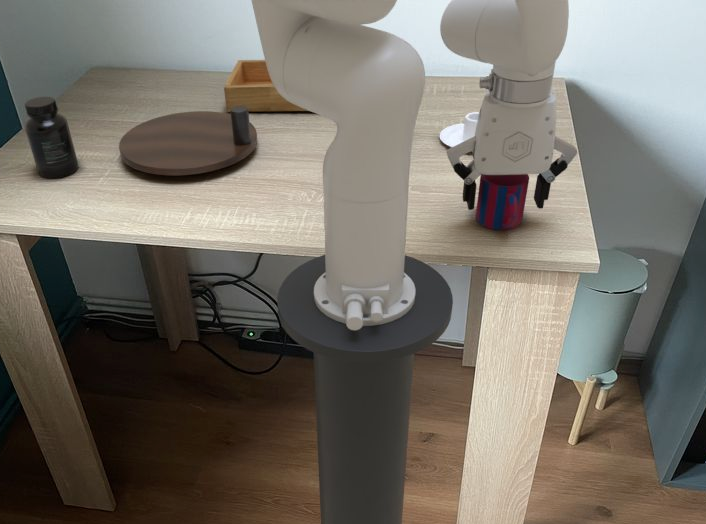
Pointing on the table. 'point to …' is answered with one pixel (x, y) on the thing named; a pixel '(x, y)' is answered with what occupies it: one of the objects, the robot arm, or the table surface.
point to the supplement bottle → (49, 138)
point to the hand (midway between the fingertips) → (503, 204)
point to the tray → (254, 89)
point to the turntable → (189, 142)
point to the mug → (501, 200)
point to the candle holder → (460, 131)
